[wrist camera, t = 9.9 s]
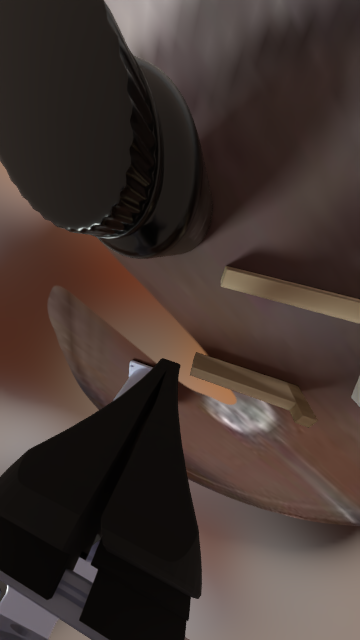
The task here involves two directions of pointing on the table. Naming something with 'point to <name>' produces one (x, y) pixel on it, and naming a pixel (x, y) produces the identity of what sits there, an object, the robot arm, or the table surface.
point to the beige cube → (357, 393)
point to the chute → (259, 383)
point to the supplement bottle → (98, 131)
